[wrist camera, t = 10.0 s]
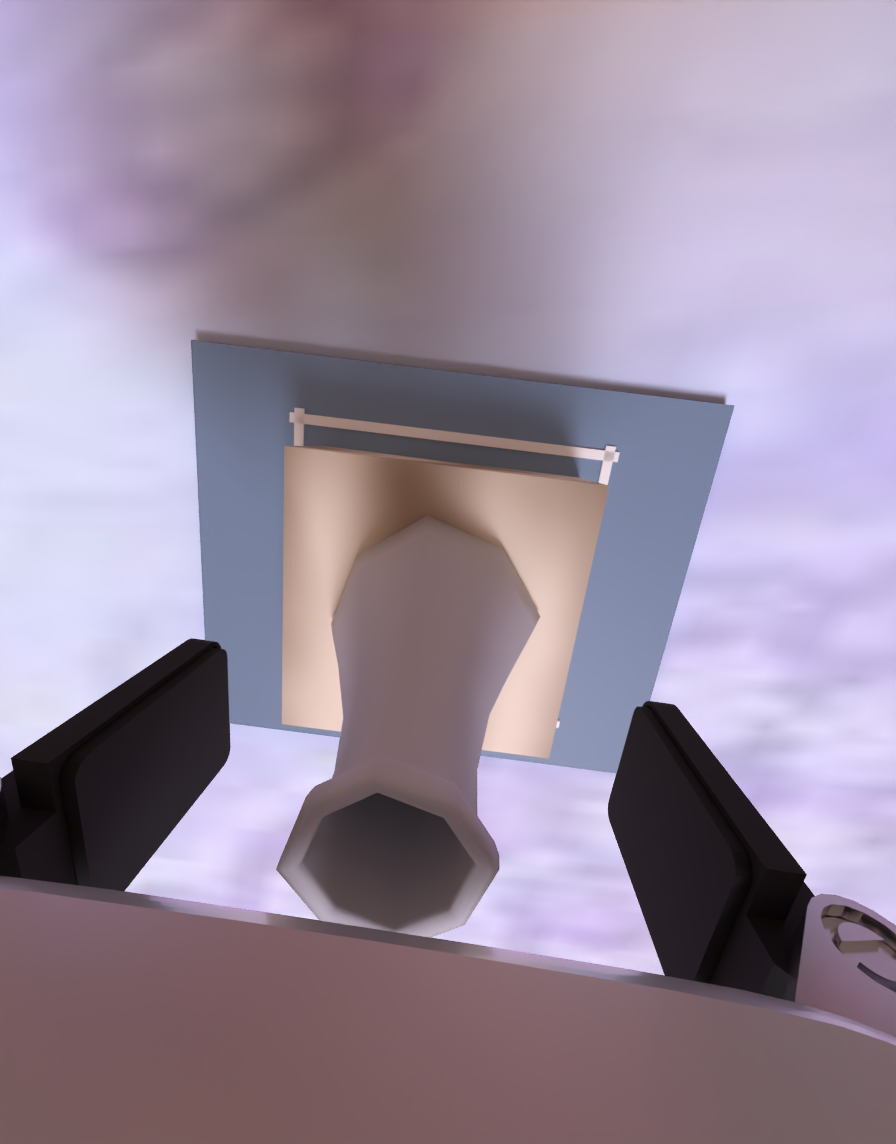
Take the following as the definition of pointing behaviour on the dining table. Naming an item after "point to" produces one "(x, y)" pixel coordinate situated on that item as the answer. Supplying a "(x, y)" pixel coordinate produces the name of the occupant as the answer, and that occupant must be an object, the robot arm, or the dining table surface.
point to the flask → (411, 734)
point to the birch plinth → (462, 500)
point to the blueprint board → (464, 435)
